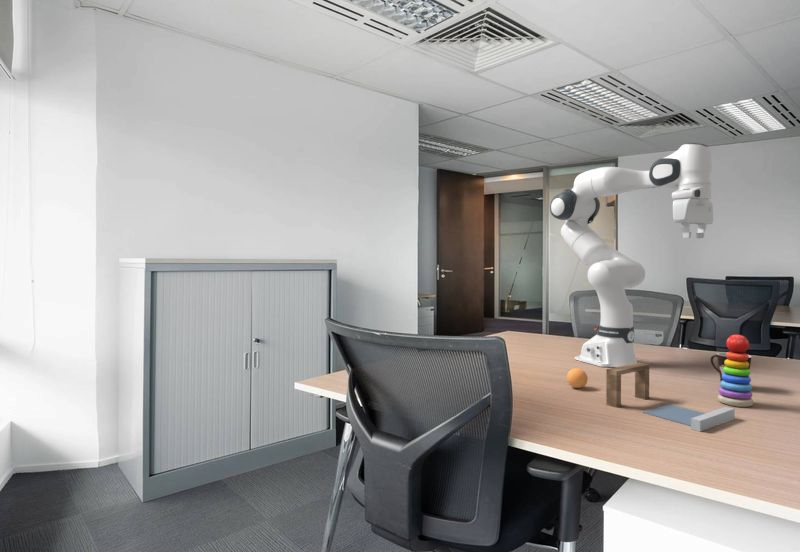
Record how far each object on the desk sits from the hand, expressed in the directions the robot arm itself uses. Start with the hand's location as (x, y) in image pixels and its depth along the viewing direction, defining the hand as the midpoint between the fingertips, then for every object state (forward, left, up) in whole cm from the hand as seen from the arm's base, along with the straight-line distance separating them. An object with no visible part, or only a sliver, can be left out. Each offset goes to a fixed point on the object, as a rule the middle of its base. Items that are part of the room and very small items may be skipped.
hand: (693, 238), depth 154 cm
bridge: (+2, -37, -46) cm, 59 cm away
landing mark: (+16, -37, -46) cm, 61 cm away
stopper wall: (+24, -37, -46) cm, 64 cm away
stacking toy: (+19, -15, -46) cm, 52 cm away
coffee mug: (+10, +3, -46) cm, 47 cm away
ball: (-15, -37, -43) cm, 59 cm away
